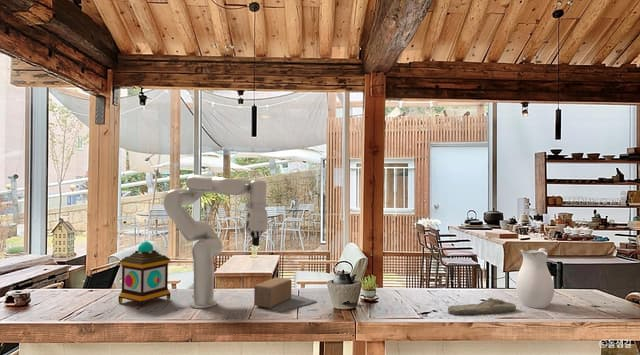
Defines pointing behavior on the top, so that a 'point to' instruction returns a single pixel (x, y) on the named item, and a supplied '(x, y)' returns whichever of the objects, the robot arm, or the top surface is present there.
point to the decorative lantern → (144, 275)
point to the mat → (292, 303)
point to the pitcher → (534, 280)
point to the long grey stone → (482, 307)
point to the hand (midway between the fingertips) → (255, 245)
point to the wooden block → (272, 292)
